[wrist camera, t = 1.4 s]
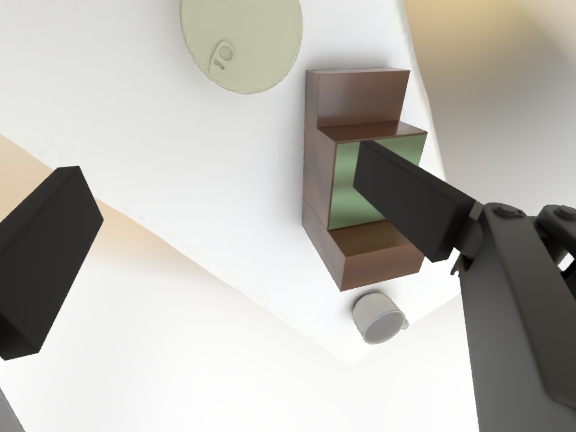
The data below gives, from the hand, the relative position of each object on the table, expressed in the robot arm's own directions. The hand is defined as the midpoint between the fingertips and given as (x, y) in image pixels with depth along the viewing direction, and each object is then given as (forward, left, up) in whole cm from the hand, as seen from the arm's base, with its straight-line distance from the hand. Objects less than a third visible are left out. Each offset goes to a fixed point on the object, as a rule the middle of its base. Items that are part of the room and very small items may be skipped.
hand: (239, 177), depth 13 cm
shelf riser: (+10, +18, -24) cm, 31 cm away
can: (-6, +3, -24) cm, 25 cm away
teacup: (+50, +31, -24) cm, 63 cm away
